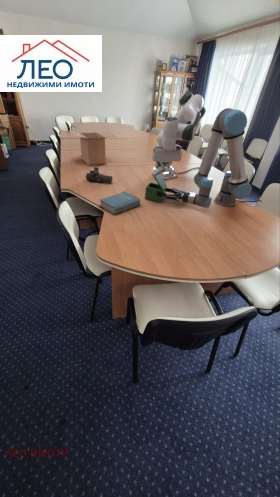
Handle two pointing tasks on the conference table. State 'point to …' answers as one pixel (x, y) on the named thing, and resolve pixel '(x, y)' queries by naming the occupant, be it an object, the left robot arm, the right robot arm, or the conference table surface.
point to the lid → (160, 178)
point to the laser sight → (98, 176)
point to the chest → (154, 192)
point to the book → (119, 202)
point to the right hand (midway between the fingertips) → (159, 190)
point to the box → (92, 146)
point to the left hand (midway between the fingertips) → (165, 167)
